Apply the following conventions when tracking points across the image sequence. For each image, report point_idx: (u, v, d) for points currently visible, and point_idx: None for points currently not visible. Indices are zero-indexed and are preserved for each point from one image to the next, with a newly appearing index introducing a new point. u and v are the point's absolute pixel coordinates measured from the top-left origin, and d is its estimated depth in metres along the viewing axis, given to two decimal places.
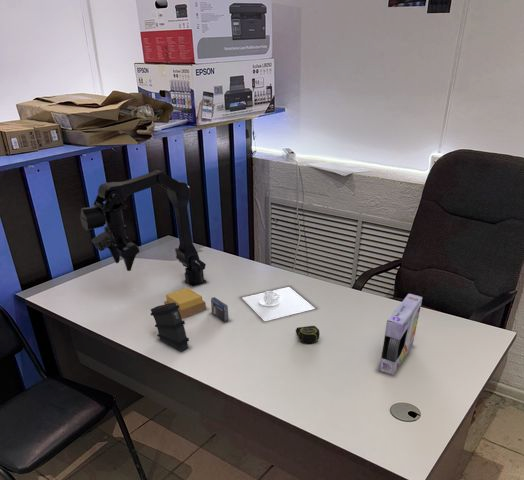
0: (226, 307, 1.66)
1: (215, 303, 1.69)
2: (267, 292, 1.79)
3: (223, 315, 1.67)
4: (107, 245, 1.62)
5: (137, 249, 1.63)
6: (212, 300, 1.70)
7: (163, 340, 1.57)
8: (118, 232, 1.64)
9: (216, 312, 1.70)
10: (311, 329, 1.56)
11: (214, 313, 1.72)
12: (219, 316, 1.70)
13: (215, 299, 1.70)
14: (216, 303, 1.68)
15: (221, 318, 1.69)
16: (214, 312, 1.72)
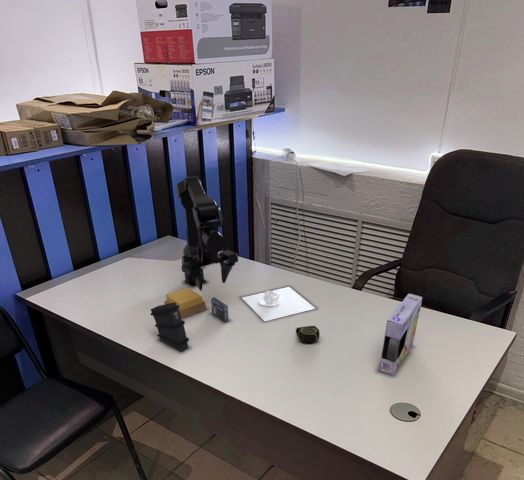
0: (226, 307, 1.66)
1: (215, 303, 1.69)
2: (267, 292, 1.79)
3: (223, 315, 1.67)
4: (189, 255, 1.61)
5: (189, 272, 1.55)
6: (212, 300, 1.70)
7: (163, 340, 1.57)
8: (200, 250, 1.57)
9: (216, 312, 1.70)
10: (311, 329, 1.56)
11: (214, 313, 1.72)
12: (219, 316, 1.70)
13: (215, 299, 1.70)
14: (216, 303, 1.68)
15: (221, 318, 1.69)
16: (214, 312, 1.72)
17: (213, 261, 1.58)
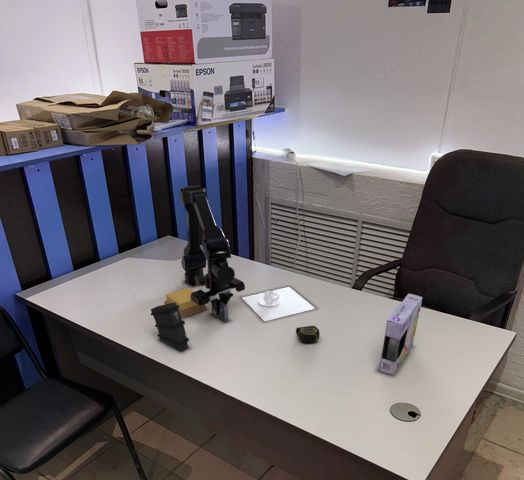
0: (226, 307, 1.66)
1: None
2: (267, 292, 1.79)
3: (223, 315, 1.67)
4: (197, 283, 1.66)
5: (198, 301, 1.60)
6: None
7: (163, 340, 1.57)
8: (209, 280, 1.62)
9: None
10: (311, 329, 1.56)
11: (214, 313, 1.72)
12: (219, 316, 1.70)
13: None
14: None
15: (221, 318, 1.69)
16: (214, 312, 1.72)
17: (221, 290, 1.63)
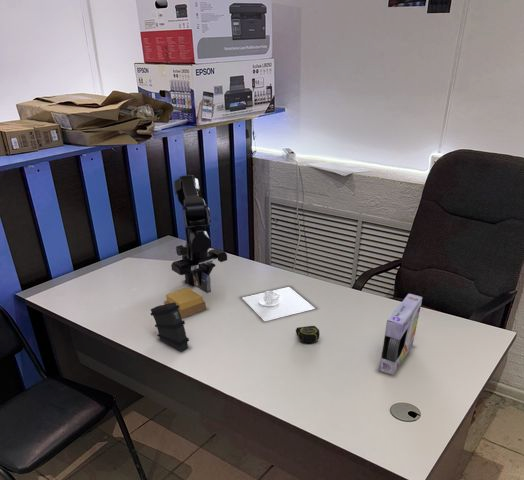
0: (208, 277, 1.63)
1: None
2: (267, 292, 1.79)
3: (205, 286, 1.65)
4: (179, 254, 1.63)
5: (179, 271, 1.57)
6: None
7: (163, 340, 1.57)
8: (190, 249, 1.59)
9: None
10: (311, 329, 1.56)
11: (196, 285, 1.69)
12: (201, 287, 1.67)
13: None
14: None
15: (203, 289, 1.67)
16: (196, 284, 1.69)
17: (203, 260, 1.60)
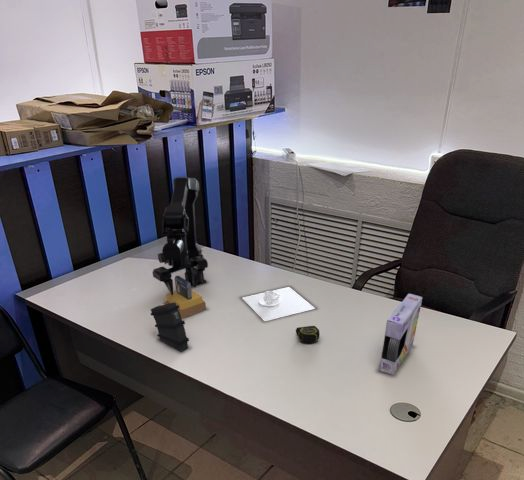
0: (189, 284, 1.68)
1: (179, 281, 1.71)
2: (267, 292, 1.79)
3: (186, 293, 1.70)
4: (160, 261, 1.69)
5: (159, 277, 1.62)
6: (176, 278, 1.73)
7: (163, 340, 1.57)
8: None
9: (180, 290, 1.73)
10: (311, 329, 1.56)
11: (178, 291, 1.75)
12: (183, 294, 1.72)
13: (178, 277, 1.72)
14: (179, 281, 1.71)
15: (184, 296, 1.72)
16: (178, 291, 1.74)
17: (183, 267, 1.65)
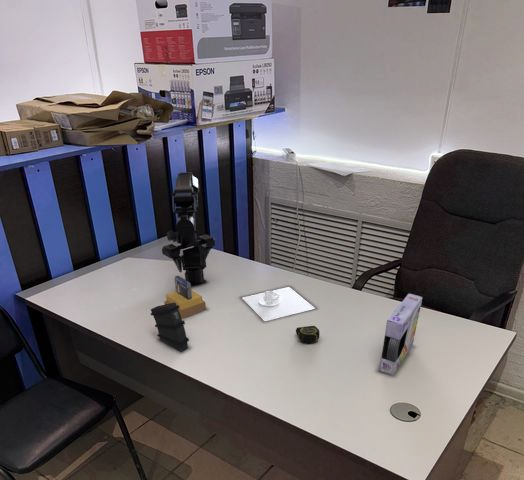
0: (189, 284, 1.68)
1: (179, 281, 1.71)
2: (267, 292, 1.79)
3: (186, 293, 1.70)
4: (169, 239, 1.73)
5: (169, 254, 1.66)
6: (176, 278, 1.73)
7: (163, 340, 1.57)
8: (180, 234, 1.69)
9: (180, 290, 1.73)
10: (311, 329, 1.56)
11: (178, 291, 1.75)
12: (183, 294, 1.72)
13: (178, 277, 1.72)
14: (179, 281, 1.71)
15: (184, 296, 1.72)
16: (178, 291, 1.74)
17: (191, 244, 1.70)
